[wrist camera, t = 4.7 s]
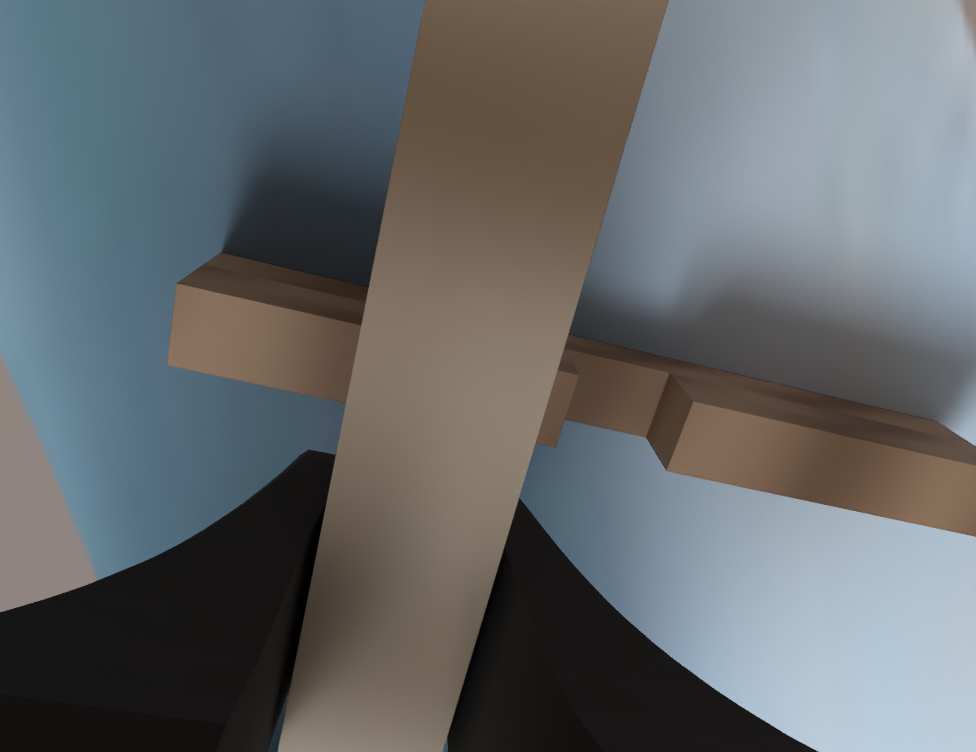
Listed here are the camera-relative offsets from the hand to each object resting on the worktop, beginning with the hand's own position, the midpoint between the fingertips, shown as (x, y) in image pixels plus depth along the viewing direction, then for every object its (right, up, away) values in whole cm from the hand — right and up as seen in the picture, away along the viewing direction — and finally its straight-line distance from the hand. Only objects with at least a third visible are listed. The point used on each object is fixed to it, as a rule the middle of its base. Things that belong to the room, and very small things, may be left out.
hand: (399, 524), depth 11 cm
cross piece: (0, +2, +5) cm, 5 cm away
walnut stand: (+5, +2, +10) cm, 11 cm away
